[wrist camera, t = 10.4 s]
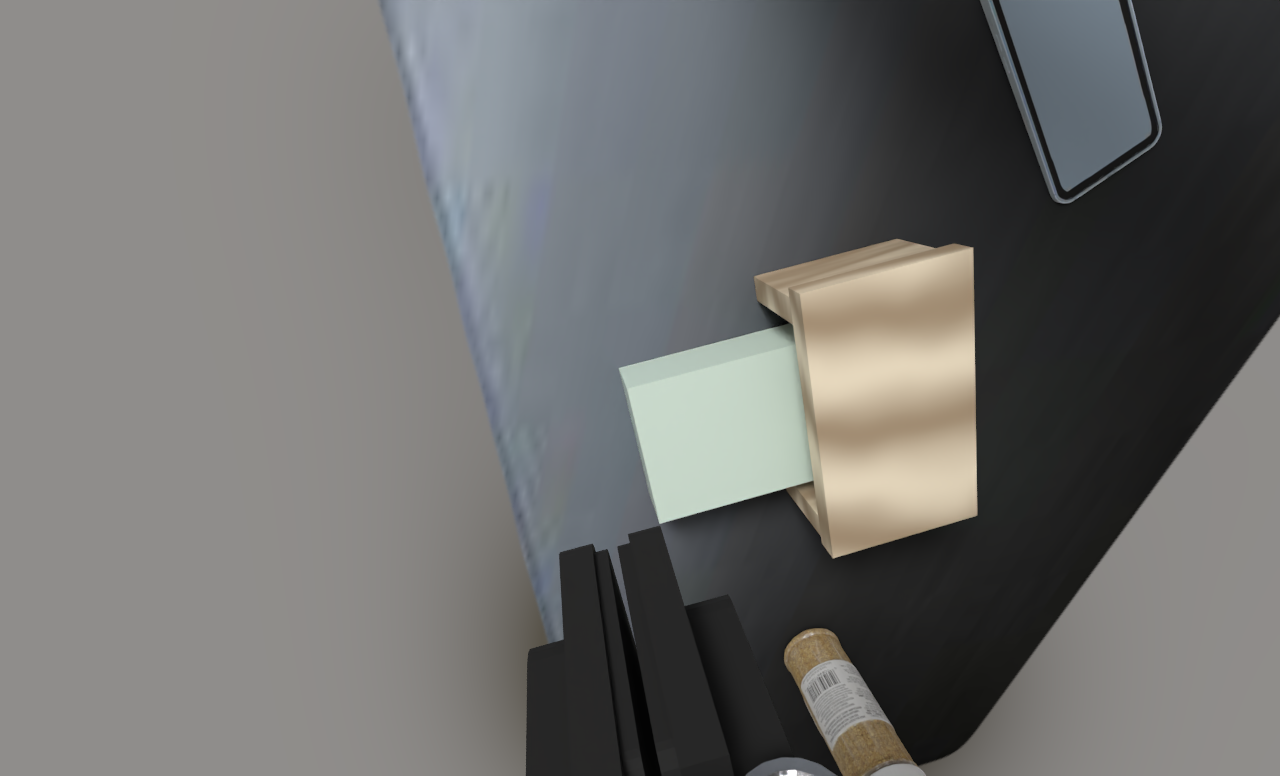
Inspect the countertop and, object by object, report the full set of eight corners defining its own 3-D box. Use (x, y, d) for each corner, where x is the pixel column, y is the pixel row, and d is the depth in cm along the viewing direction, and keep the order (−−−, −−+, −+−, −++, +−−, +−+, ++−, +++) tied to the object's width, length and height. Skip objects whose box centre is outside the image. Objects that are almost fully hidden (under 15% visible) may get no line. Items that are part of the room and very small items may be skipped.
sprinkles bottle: (793, 680, 49) (882, 860, 37) (773, 641, 47) (860, 817, 35) (846, 654, 49) (953, 826, 37) (828, 615, 47) (934, 781, 35)
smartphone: (1058, 211, 38) (975, -36, 32) (1046, 209, 39) (963, -31, 33) (1166, 137, 38) (1101, -128, 32) (1151, 137, 39) (1086, -121, 33)
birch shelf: (752, 268, 37) (799, 294, 30) (896, 230, 37) (973, 247, 31) (787, 496, 43) (833, 558, 36) (910, 460, 43) (977, 515, 37)
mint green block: (618, 368, 38) (626, 388, 34) (870, 302, 39) (901, 316, 36) (649, 494, 41) (659, 523, 38) (879, 430, 42) (908, 453, 39)
